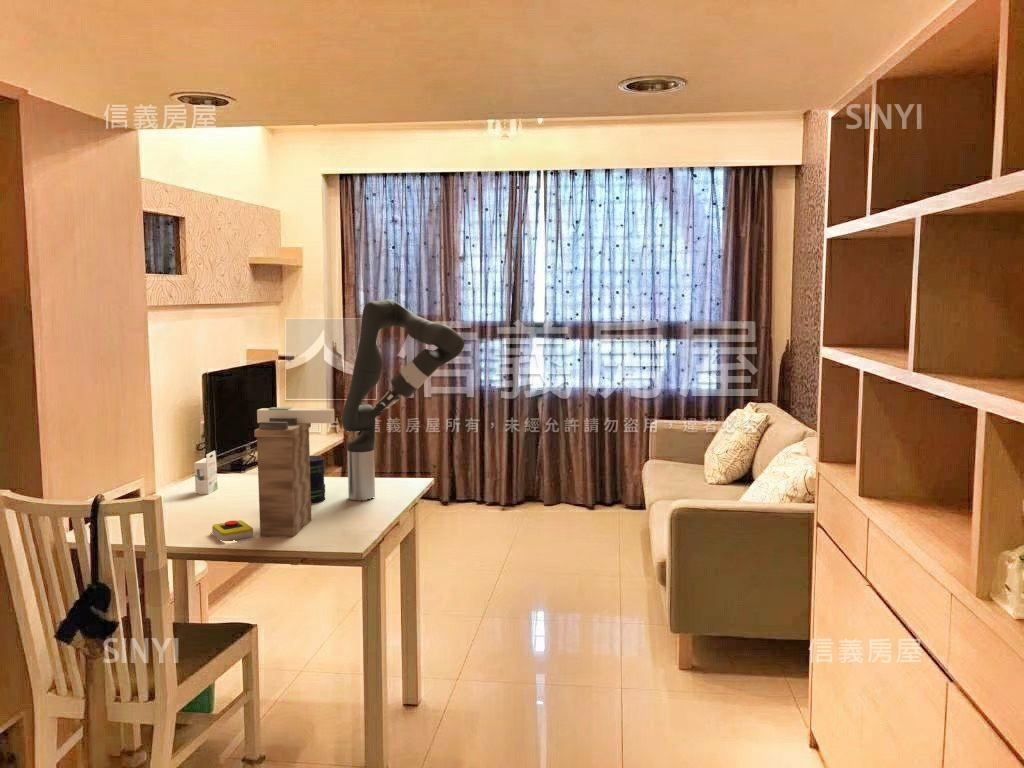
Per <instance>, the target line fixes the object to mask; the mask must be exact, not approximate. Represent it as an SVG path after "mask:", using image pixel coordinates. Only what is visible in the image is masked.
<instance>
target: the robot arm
mask: <svg viewBox="0 0 1024 768" xmlns="http://www.w3.org/2000/svg"><path fill="white" fill-rule="evenodd" d="M361 315H362V316H361V326H360V334H359V335H360V337H359V343H358V347H357V352H356V357H355V361H354V366H353V369H352V378H351V383H350V387H349V390H348V394H347V397H346V400H345V403H344V406H343V409H342V413H341V425H342V427H343V430H345V431H346V432H350V433H351V432H352V433H353V432H360V434H359V435H358V436H356V437H355V438H353V439H352V440H350V441H348V443H347V445H346V447H347V481H348V482H347V483H348V484H347V486H348V487H347V488H348V492H347V493H348V500H351V501H356V500H357V502H358V501H361V500H362V501H368V500H367V499H370V500H372V499H371V498H373V497H375V498H376V489H375V488H376V481H375V480H376V477H375V471H376V470H375V442H376V418H377V417H380V416H381V415H382V414H383V413H384V412H385V411H386V410H388V409H389V408H390V407H391V406H393V405H395V403H397V402H398V401H400V399H401V396H402V397H404V398H405V399H410V397H411V396H412V395H413V394H414V393H415V392H416V391H418V390H419V389H420V387H421V386H422V385H423V384H424V383H425V382H426V381H427V380H428V379H429V377H430V376H431V375H432V374H433V373H434V372H436V371H437V369H438V368H440V367H442V366H443V365H446V364H447V363H448V362H450V361H452V360H454V359H455V358H456V357H458V356H459V355H460V354H461V353H462V351H463V350H464V347H465V340H464V338H463V336H461V335H460V334H459V333H458V332H457V331H455V330H454V329H453V328H452V327H450V326H448V325H446V324H443V323H438V322H433V321H432V320H428V319H426V318H423V317H420V315H417V314H415V313H413V312H411V311H410V310H409V309H407V308H405V307H404V306H403V305H401V304H400V303H399V302H397V301H396V300H394V299H391V298H390V299H389V298H385V299H378V300H373V301H369V302H367V303H366V304H365V305H364V307H363V310H362V314H361ZM391 327H401V328H404V330H405V331H406V333H407V334H408V335H409V337H411V338H412V339H414V340H416V341H418V342H420V343H422V344H425V345H430V346H432V345H433V346H435V347H436V349H428V348H424V349H422V350H421V351H420V352H419V353H418V354H417V355H416V356H415V357H414V358H413V359H412V360H411V361H410V362H408V363H407V364H406V365H405V366H404V367H403V368H402V369H401V370H400V371H399V372H398V373H397V374H396V375H395V376H394V377H393V378H392V379H391V380H390V384H391V385H392V387H393V389H389V390H388V391H387V392H385V395H383V397H382V398H380V399H379V401H378V403H376V405H375V407H373V406H372V405H371V404H369V403H368V404H367V403H366V404H361V403H362V401H363V400H364V398H365V397H366V396H367V395H368V394H369V393H370V392H371V391H372V389H374V387H376V386H377V384H378V383H379V381H380V379H381V376H382V370H383V365H384V359H383V356H382V354H381V352H380V350H379V347H378V345H377V341H378V340H377V339H378V336H379V335H378V334H379V331H381V330H382V329H387V328H391ZM373 499H374V498H373Z"/></svg>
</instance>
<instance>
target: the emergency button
mask: <svg viewBox="0 0 1024 768" xmlns="http://www.w3.org/2000/svg"><path fill="white" fill-rule="evenodd" d="M211 528H212V531H211V532H212V533H213V534H214V535H215V536H216V537H217V538H219V539H220V540H222V541H233V540H235V541H237V543H242V541H243V542H247V540H248V541H253V540H252V539H254V540H256V539H257V537H256V536H255V535H254V529H253V527H252V526H251V525H249V524H248V523H246V522H245V521H243V520H241V519H240V520H239V519H238V520H228V521H225V522H222V523H220V522H219V523H215V524H212V527H211ZM214 535H213V536H214ZM215 536H214V537H215ZM216 537H215V538H216ZM217 538H216V539H217ZM219 539H218V540H219ZM220 540H219V541H220Z"/></svg>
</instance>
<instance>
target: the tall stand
mask: <svg viewBox="0 0 1024 768" xmlns="http://www.w3.org/2000/svg"><path fill="white" fill-rule="evenodd" d="M258 424H259V425H258V426H259V427H258V428H256V429H254V435H253V436H254V437H255V438H256V450H257V451H256V452H257V454H256V456H257V477H258V478H257V479H258V502H259V503H258V505H259V507H258V509H259V510H258V511H259V512H258V513H259V537H261V536H294V537H295V536H296V535H298V533H300V531H302V530H303V529H304V528H305V527H306V526H308V524H309V523H310V522H311V521H312V504H311V486H310V456H311V454H310V428H312V425H311V424H312V423H297V418H269V422H259V423H258ZM305 525H306V526H305ZM304 526H305V527H304ZM303 527H304V528H303ZM302 528H303V529H302Z"/></svg>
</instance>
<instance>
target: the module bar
mask: <svg viewBox="0 0 1024 768" xmlns="http://www.w3.org/2000/svg"><path fill="white" fill-rule="evenodd" d="M256 416H257V419H256V422H257V424H259V422H269V418H297V423H311V424H333V423H335V421H336V419H335V417H336V416H335V408H292V407H290V406H289V407H288V406H287V407H286V406H285V407H284V406H283V407H281V406H279V407H277V406H276V407H274V406H272V407H269V408H267V407H266V408H265V407H264V408H263V407H262V408H259V409H257V410H256Z"/></svg>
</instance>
